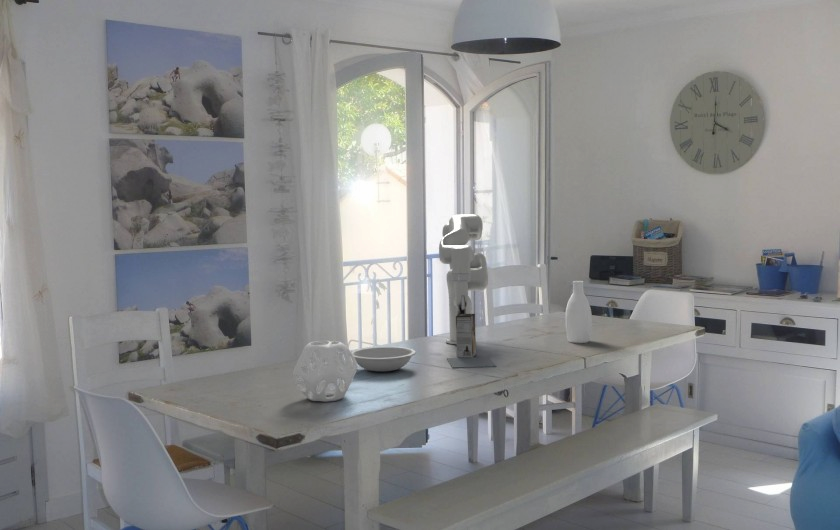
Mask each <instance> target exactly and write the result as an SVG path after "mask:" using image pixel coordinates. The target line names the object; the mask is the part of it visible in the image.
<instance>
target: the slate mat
mask: <svg viewBox="0 0 840 530" xmlns="http://www.w3.org/2000/svg"><path fill="white" fill-rule="evenodd" d="M446 360H447V362H448V363H449V365H450V367H451V369H471V368H474V369H476V368H496V367H497V365H496V364H495V362H494V361H493V360H492V359H491V358H490V356H479V357H478V356H473V357H472V358H458V357H447V358H446Z"/></svg>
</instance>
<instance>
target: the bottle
mask: <svg viewBox="0 0 840 530" xmlns="http://www.w3.org/2000/svg"><path fill="white" fill-rule="evenodd" d="M584 291H585V290H584V281H583V280H573V281H572V294H571V296H570V297H569V298H568V301H567V303H566V304H567V305H566V307H565V311H564V313H565V314H564V318H565V320H564V321H565V332H566V337H567V338H566V339H567V342H569V343H573V344H583V343H585V344H586V343H589V342H590V339H591V333H592V320H593V319H592V318H593V315H592V309H591V305H590V301H589V300H588V298H587V296H586V295H585V292H584Z"/></svg>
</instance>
